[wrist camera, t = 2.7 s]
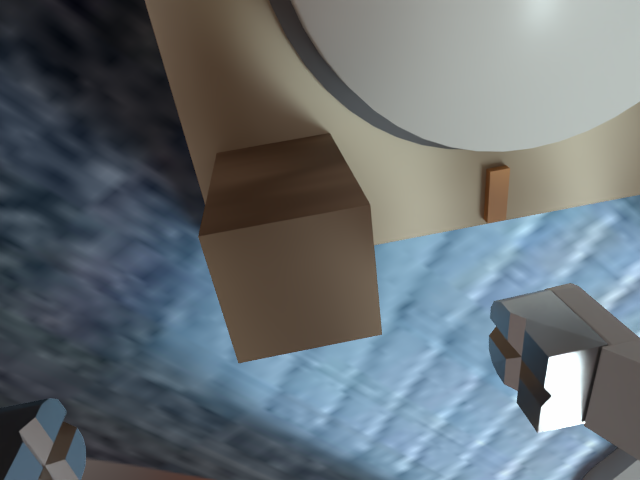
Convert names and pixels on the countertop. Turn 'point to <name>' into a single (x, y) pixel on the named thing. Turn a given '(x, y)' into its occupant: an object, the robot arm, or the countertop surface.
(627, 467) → the adjustable wrench
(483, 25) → the dial
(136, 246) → the countertop surface
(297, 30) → the panel
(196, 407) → the countertop surface
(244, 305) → the block
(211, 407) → the countertop surface
